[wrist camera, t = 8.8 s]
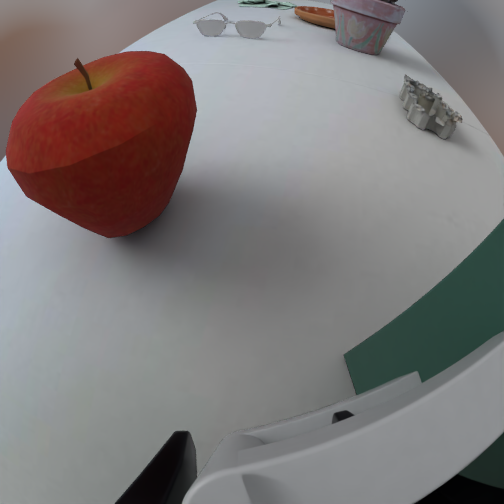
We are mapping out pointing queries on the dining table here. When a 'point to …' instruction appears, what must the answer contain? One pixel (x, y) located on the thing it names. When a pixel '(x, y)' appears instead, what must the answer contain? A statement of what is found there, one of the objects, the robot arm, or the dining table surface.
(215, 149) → the dining table surface
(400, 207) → the dining table surface
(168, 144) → the apple
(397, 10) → the potted plant
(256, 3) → the cloth
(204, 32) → the eyeglasses
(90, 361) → the dining table surface
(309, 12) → the saucer
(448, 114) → the egg carton
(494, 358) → the cooler door
